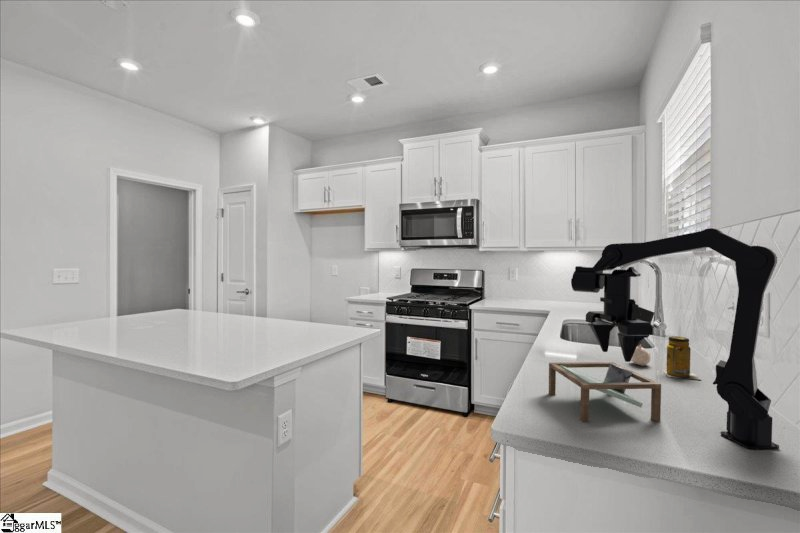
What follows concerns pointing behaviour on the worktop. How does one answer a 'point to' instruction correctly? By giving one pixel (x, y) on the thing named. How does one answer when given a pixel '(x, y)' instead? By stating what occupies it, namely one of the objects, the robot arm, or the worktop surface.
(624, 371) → the cylinder
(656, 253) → the robot arm
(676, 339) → the condiment
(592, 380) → the trapdoor
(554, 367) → the stand
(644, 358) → the garlic bulb
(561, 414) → the worktop surface
